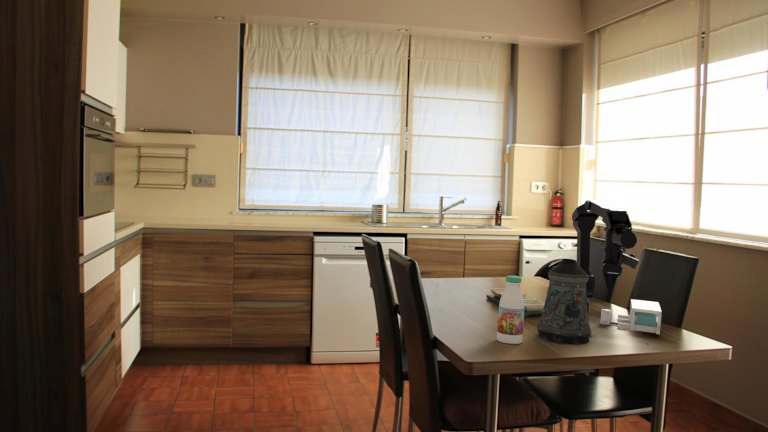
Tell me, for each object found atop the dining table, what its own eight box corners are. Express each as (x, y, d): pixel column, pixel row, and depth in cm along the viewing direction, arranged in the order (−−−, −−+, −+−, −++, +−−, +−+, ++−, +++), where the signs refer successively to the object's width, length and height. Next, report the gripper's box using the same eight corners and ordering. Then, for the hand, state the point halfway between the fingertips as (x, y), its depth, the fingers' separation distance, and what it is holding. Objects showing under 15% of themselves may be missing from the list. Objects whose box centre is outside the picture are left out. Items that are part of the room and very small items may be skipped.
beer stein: (553, 345, 190) (559, 263, 188) (523, 329, 209) (528, 254, 207) (601, 344, 194) (607, 264, 193) (567, 329, 213) (572, 255, 211)
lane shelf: (592, 329, 214) (594, 303, 213) (594, 319, 231) (595, 295, 230) (659, 338, 207) (661, 311, 206) (656, 327, 223) (658, 302, 223)
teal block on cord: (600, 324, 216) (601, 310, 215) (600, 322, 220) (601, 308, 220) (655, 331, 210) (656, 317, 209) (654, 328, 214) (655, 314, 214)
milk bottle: (493, 337, 196) (498, 273, 194) (518, 338, 196) (522, 274, 195) (500, 344, 188) (504, 278, 187) (525, 345, 189) (530, 279, 187)
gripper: (640, 249, 205) (636, 297, 206) (637, 245, 222) (633, 289, 223) (604, 246, 208) (600, 293, 209) (603, 242, 226) (600, 285, 227)
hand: (610, 290), depth 217 cm, fingers open, 9 cm apart
